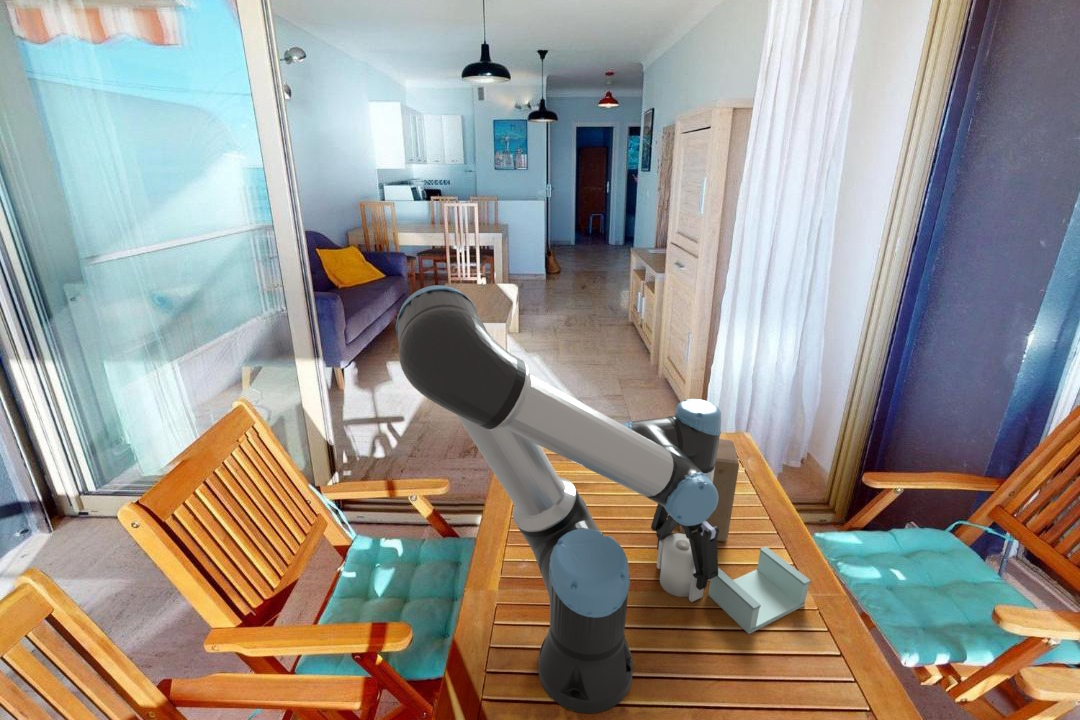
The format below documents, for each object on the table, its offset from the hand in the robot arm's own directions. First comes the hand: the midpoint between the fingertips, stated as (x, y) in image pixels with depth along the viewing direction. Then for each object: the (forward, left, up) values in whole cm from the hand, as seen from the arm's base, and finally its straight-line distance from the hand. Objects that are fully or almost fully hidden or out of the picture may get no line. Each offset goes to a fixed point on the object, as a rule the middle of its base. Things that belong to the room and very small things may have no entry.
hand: (678, 581), depth 107 cm
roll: (0, 0, 0) cm, 0 cm away
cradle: (+10, -10, 0) cm, 14 cm away
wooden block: (+16, +11, -1) cm, 19 cm away
